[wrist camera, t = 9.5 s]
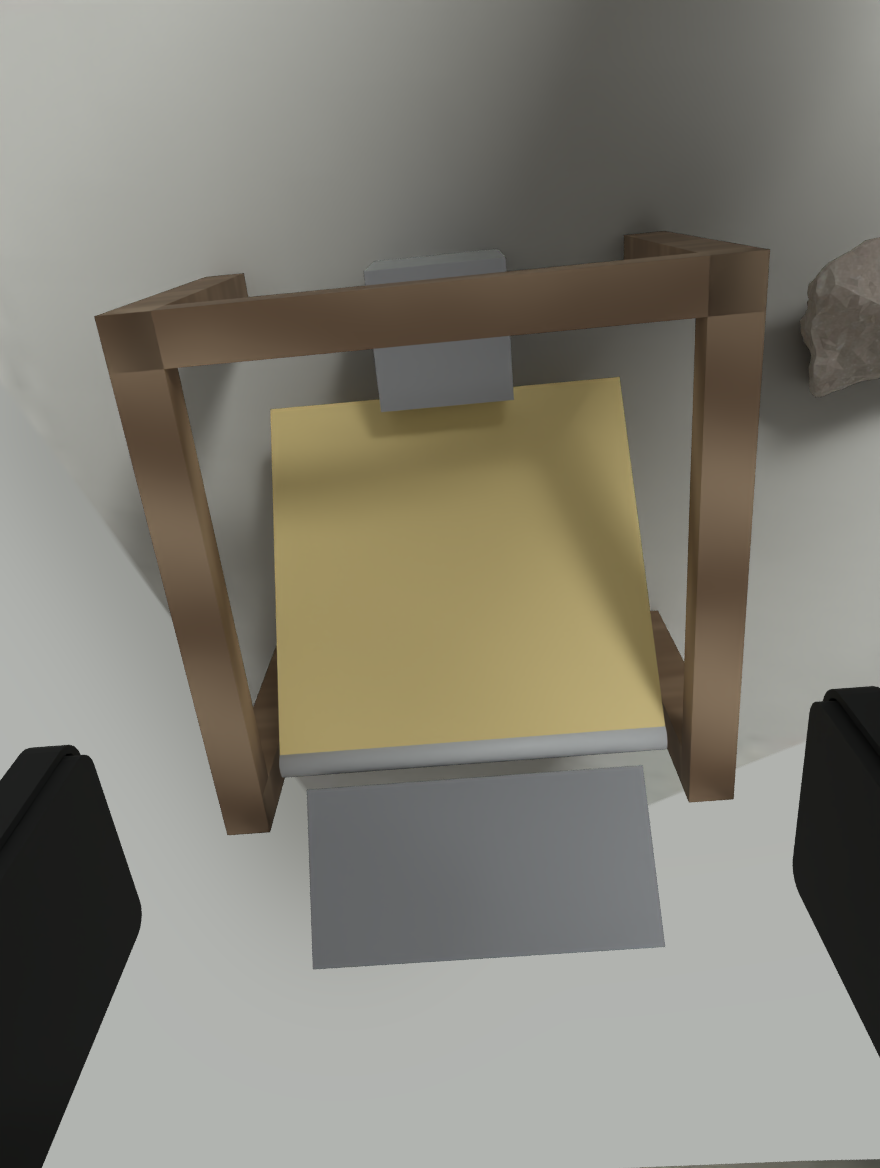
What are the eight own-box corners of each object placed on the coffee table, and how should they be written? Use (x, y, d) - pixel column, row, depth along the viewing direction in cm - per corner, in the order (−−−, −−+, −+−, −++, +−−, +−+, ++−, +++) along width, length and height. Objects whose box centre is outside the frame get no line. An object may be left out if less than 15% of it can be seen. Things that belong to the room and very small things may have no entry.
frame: (205, 277, 34) (94, 316, 23) (664, 230, 34) (769, 249, 23) (283, 669, 42) (227, 835, 31) (657, 639, 41) (733, 799, 30)
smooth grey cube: (389, 384, 36) (374, 261, 34) (505, 373, 36) (497, 248, 34) (381, 412, 32) (363, 271, 30) (513, 399, 31) (505, 257, 29)
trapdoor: (290, 442, 37) (269, 407, 34) (608, 413, 37) (620, 374, 33) (306, 950, 32) (284, 971, 29) (672, 926, 32) (695, 945, 28)
